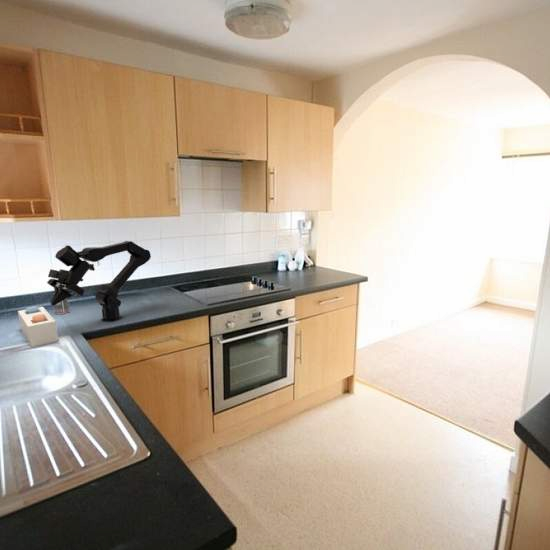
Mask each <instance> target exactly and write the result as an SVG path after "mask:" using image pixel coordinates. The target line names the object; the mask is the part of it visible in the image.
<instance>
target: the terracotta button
mask: <svg viewBox="0 0 550 550" xmlns="http://www.w3.org/2000/svg"><path fill="white" fill-rule="evenodd" d="M32 320H33V323H38V322H43V321H46V316H45V315H44V314H40V315H35V316H33V317H32Z"/></svg>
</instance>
